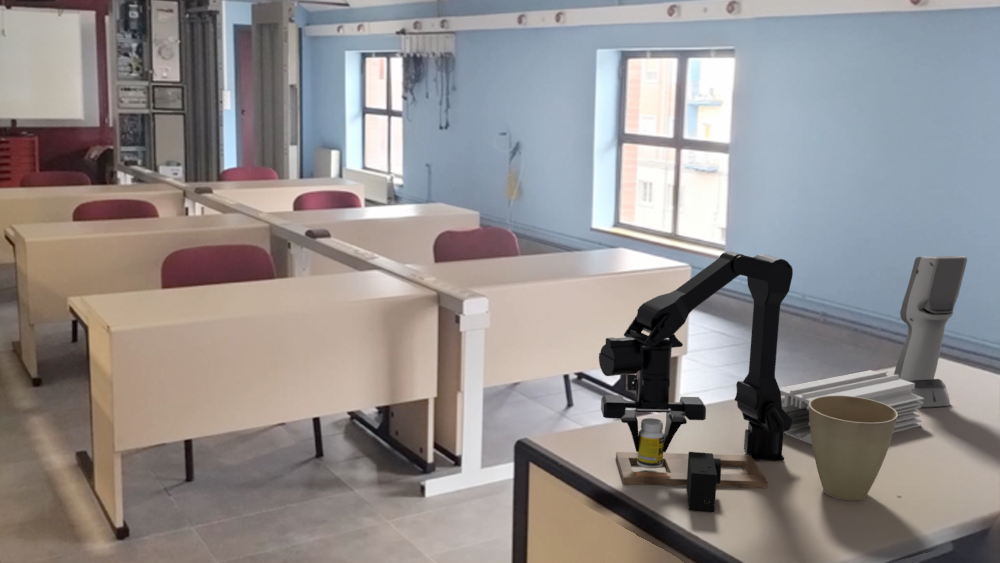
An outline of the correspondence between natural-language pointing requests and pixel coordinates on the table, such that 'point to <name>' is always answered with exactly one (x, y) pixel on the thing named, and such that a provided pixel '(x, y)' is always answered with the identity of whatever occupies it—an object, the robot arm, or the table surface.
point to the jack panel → (679, 468)
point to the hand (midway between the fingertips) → (650, 451)
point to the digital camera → (702, 481)
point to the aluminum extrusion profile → (856, 385)
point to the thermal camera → (928, 323)
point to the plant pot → (849, 442)
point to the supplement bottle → (651, 443)
